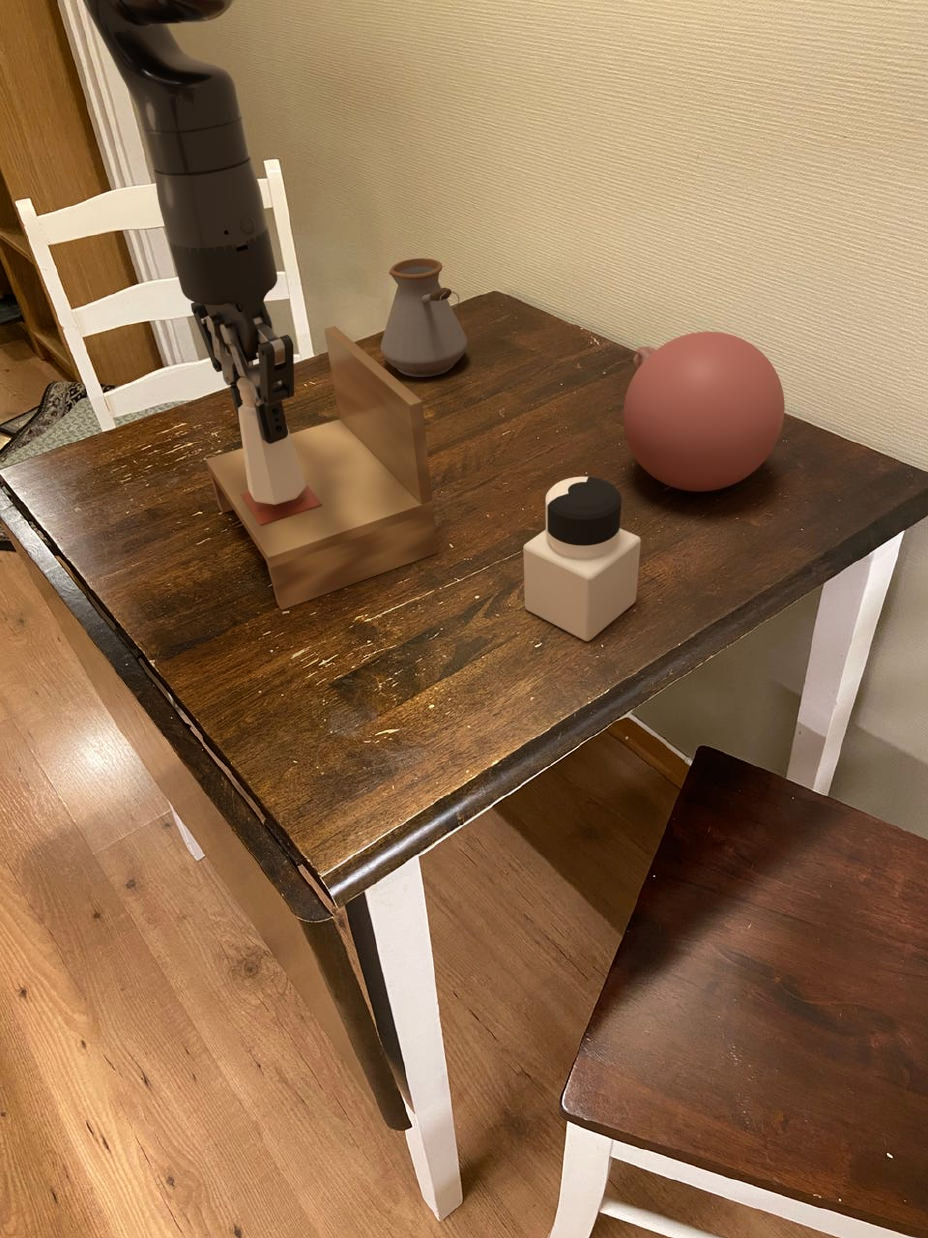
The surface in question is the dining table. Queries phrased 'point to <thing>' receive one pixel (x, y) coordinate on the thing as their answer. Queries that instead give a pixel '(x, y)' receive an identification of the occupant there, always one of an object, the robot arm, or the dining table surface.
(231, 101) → the robot arm
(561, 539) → the medicine bottle
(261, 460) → the pepper shaker
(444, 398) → the dining table surface
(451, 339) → the coffee pot
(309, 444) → the shelf
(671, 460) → the balloon
